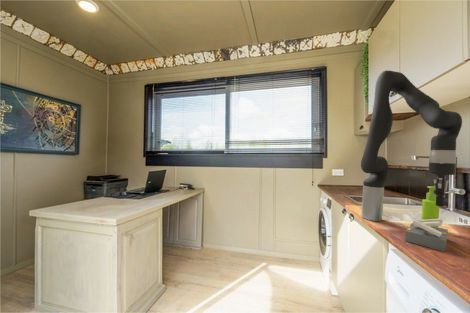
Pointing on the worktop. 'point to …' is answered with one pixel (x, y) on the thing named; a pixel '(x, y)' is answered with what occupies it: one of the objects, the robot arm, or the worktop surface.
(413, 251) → the worktop surface
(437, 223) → the block
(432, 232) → the block
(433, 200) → the soap dispenser
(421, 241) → the switch box
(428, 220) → the block
